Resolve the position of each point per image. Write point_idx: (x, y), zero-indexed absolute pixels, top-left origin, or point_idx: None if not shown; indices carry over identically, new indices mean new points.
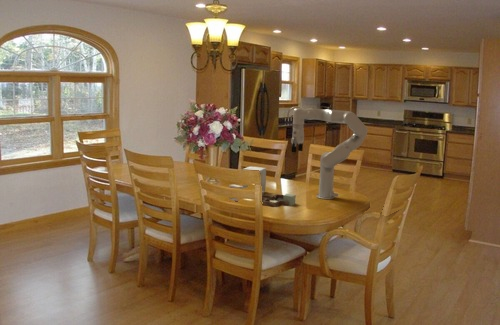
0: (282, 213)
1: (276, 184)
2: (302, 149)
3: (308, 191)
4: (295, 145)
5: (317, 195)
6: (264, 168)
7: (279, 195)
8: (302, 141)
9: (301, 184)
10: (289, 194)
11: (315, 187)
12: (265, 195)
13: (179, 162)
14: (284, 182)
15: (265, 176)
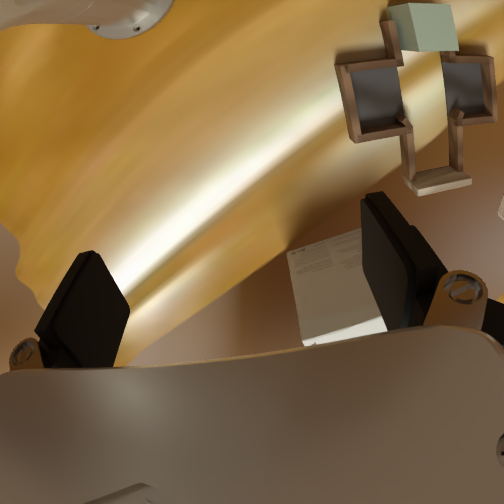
0: None
1: (134, 309)
2: (71, 266)
3: (95, 140)
4: (464, 296)
5: (157, 15)
6: (325, 336)
7: (358, 126)
8: (49, 409)
9: (42, 257)
10: (423, 33)
11: (20, 188)
12: (415, 167)
13: None
14: None
15: (302, 301)
